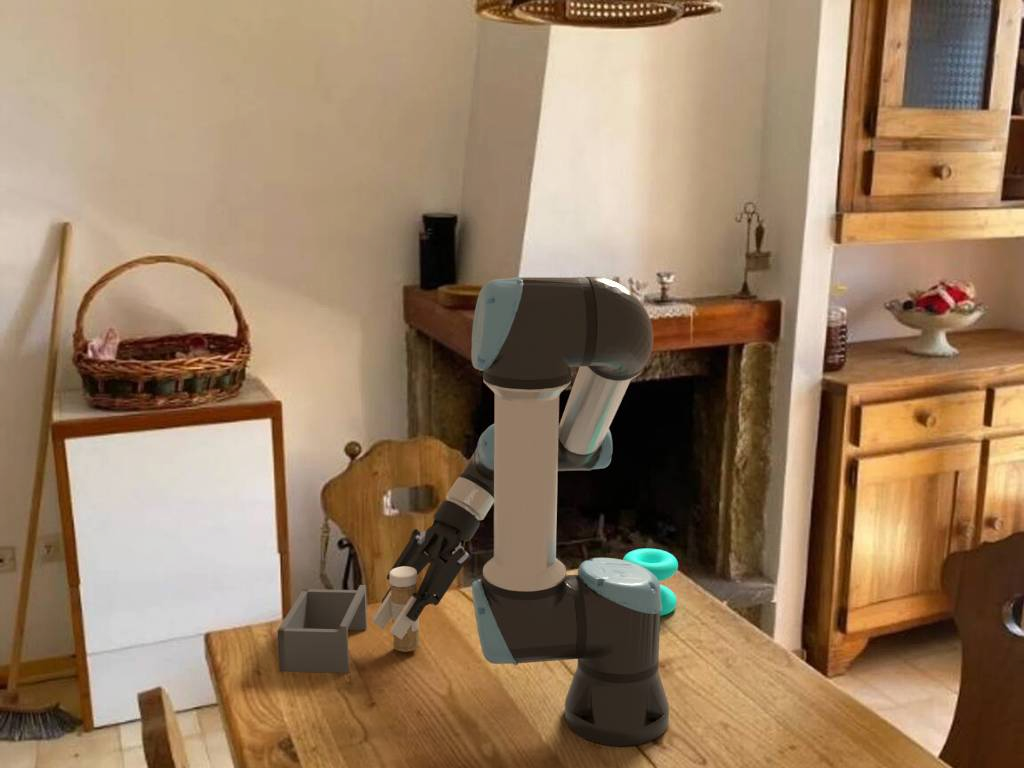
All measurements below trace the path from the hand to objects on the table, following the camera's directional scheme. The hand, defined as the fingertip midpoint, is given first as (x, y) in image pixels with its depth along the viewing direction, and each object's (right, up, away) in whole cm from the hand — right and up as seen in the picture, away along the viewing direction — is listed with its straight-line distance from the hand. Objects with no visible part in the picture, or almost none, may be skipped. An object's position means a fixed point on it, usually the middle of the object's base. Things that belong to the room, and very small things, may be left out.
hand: (386, 629), depth 160 cm
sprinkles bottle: (+3, -4, +4) cm, 6 cm away
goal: (-11, -4, +4) cm, 12 cm away
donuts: (+46, -1, +20) cm, 50 cm away
